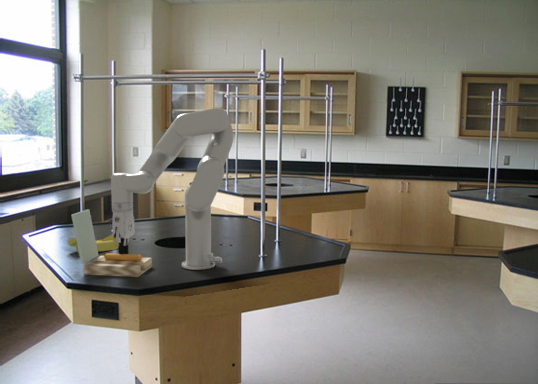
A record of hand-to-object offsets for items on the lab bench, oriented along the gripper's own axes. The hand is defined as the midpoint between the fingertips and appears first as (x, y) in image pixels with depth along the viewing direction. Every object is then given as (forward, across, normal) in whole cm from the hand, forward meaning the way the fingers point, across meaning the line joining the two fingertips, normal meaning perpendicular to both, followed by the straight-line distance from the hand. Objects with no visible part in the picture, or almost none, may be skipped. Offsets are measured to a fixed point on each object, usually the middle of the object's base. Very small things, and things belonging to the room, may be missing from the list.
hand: (123, 255), depth 201 cm
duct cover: (-8, -3, +13) cm, 15 cm away
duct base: (+5, -3, +1) cm, 6 cm away
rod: (0, 0, 0) cm, 0 cm away
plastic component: (+6, +26, +25) cm, 37 cm away
